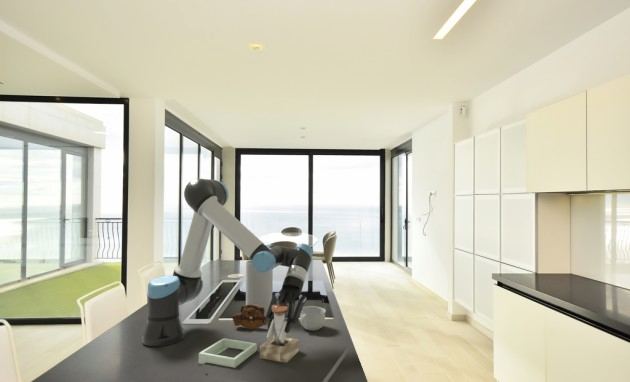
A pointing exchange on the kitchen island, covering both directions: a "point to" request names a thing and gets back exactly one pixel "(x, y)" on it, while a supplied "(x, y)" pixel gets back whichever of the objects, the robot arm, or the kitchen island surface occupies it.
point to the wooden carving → (250, 316)
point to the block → (279, 350)
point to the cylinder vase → (258, 287)
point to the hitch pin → (279, 321)
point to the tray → (212, 352)
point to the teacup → (312, 317)
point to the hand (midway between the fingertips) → (274, 340)
